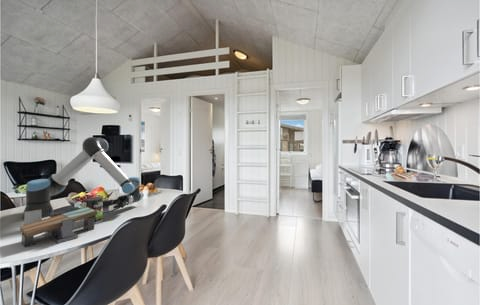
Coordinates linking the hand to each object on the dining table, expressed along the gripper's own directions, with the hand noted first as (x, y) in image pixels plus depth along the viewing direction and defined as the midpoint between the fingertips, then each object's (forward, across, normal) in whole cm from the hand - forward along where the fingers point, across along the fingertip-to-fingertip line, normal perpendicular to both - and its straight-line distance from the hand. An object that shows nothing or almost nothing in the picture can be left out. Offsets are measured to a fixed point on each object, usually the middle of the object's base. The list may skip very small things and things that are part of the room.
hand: (100, 207), depth 138 cm
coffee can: (+4, +1, -8) cm, 9 cm away
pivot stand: (+26, -3, -7) cm, 28 cm away
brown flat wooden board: (+26, -3, 0) cm, 26 cm away
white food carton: (+23, +21, -8) cm, 32 cm away
